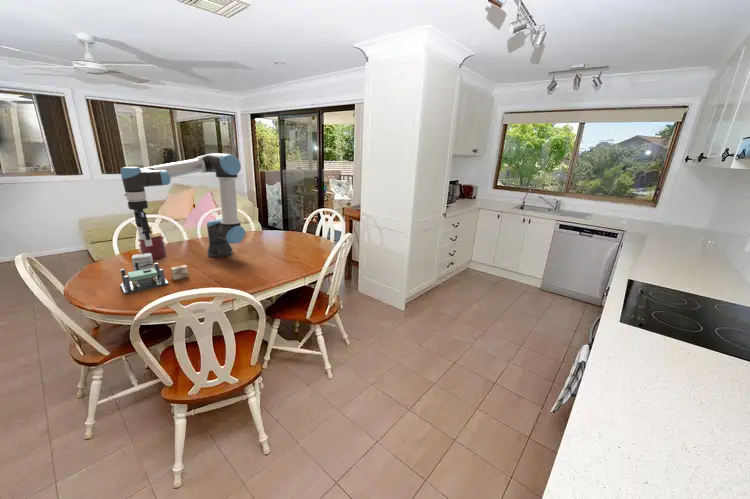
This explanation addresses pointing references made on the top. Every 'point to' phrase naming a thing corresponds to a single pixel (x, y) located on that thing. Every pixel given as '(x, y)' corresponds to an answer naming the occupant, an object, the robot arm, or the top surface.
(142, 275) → the board
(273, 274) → the top surface
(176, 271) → the block
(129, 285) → the chassis
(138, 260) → the ink box
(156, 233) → the canister
